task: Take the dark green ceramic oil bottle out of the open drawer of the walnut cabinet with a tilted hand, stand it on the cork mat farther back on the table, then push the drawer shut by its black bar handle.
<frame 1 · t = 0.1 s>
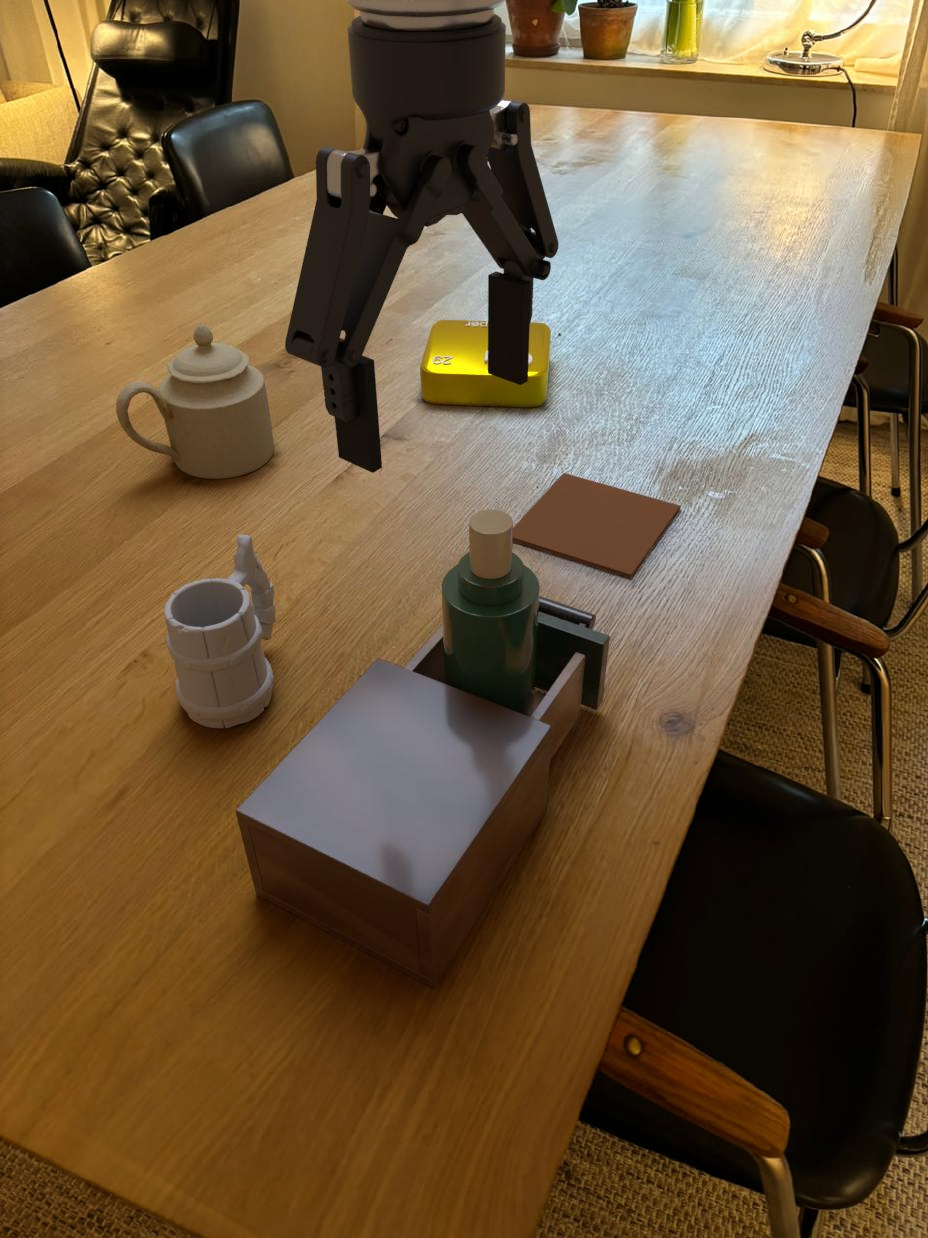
hand: (438, 417, 60), 27 cm above the table, tool pointing down, fingers open, 13 cm apart
element tile: (487, 379, 123), on the table
oil bottle: (489, 720, 75), point 2 cm above the table, touching drawer
cork mat: (594, 524, 98), on the table
mug: (241, 682, 82), on the table
sugar bowl: (214, 463, 108), on the table
drawer: (502, 683, 75), point 4 cm above the table, slide at 10.0 cm, touching oil bottle
cabinet: (406, 851, 69), on the table
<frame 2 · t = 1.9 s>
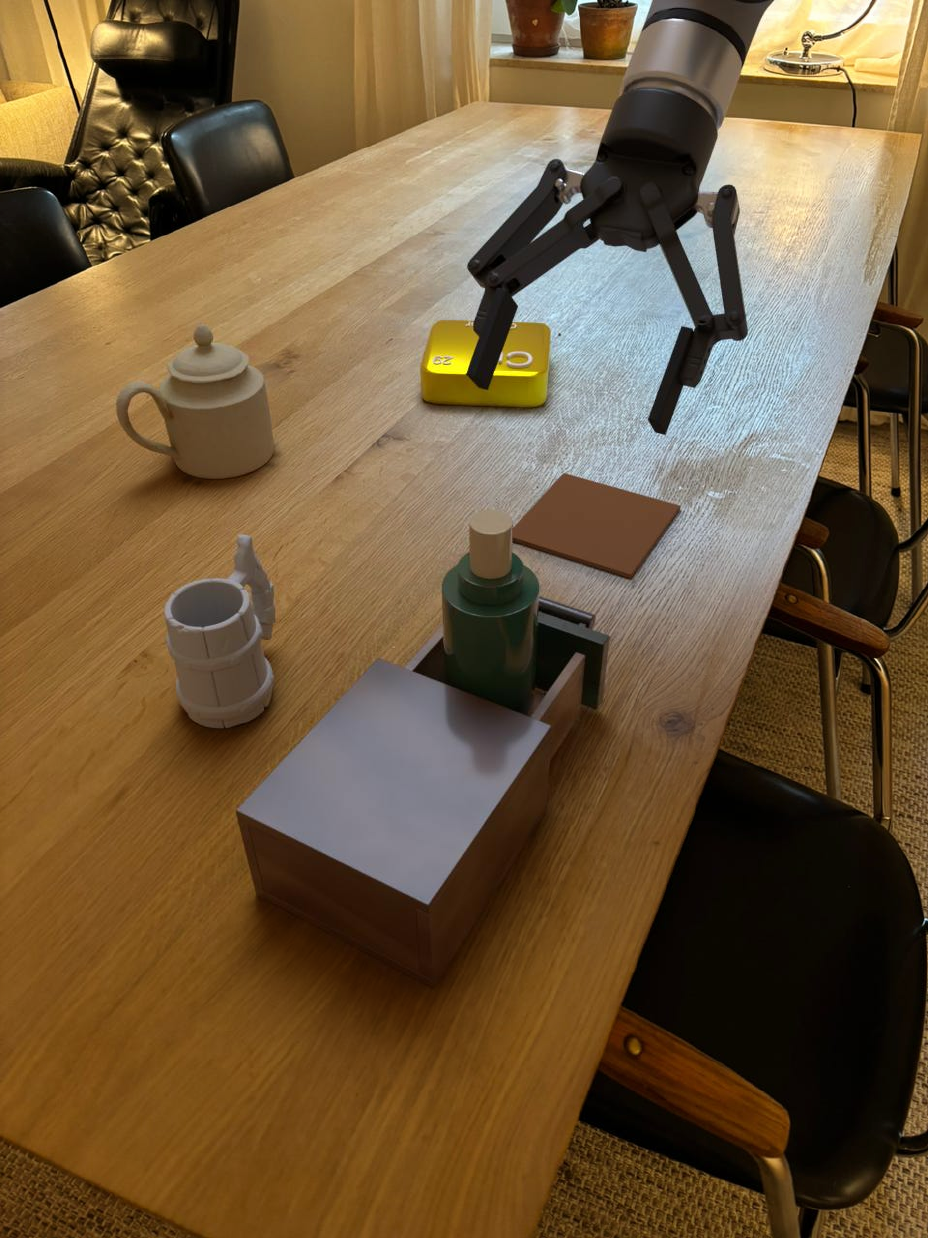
hand: (563, 404, 68), 24 cm above the table, tool tilted 45°, fingers open, 13 cm apart
nothing on the table moved.
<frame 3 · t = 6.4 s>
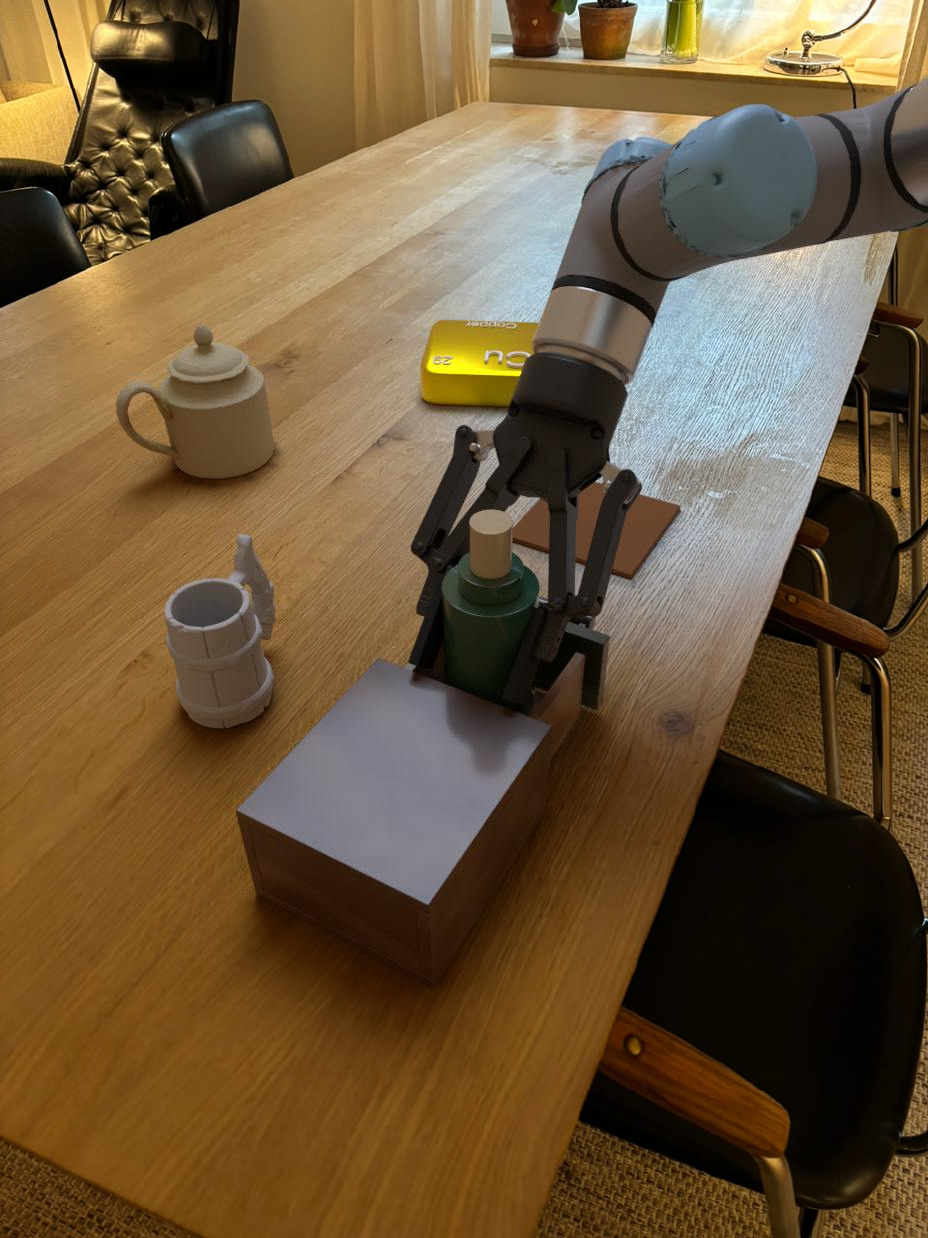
hand: (465, 683, 68), 9 cm above the table, tool tilted 45°, fingers closed on oil bottle, 7 cm apart
oil bottle: (489, 720, 75), point 2 cm above the table, touching drawer, gripper
everything else where it was.
when the fingers open (7 cm above the table, at t = 17.4 s): oil bottle stays where it is, resting on cork mat.
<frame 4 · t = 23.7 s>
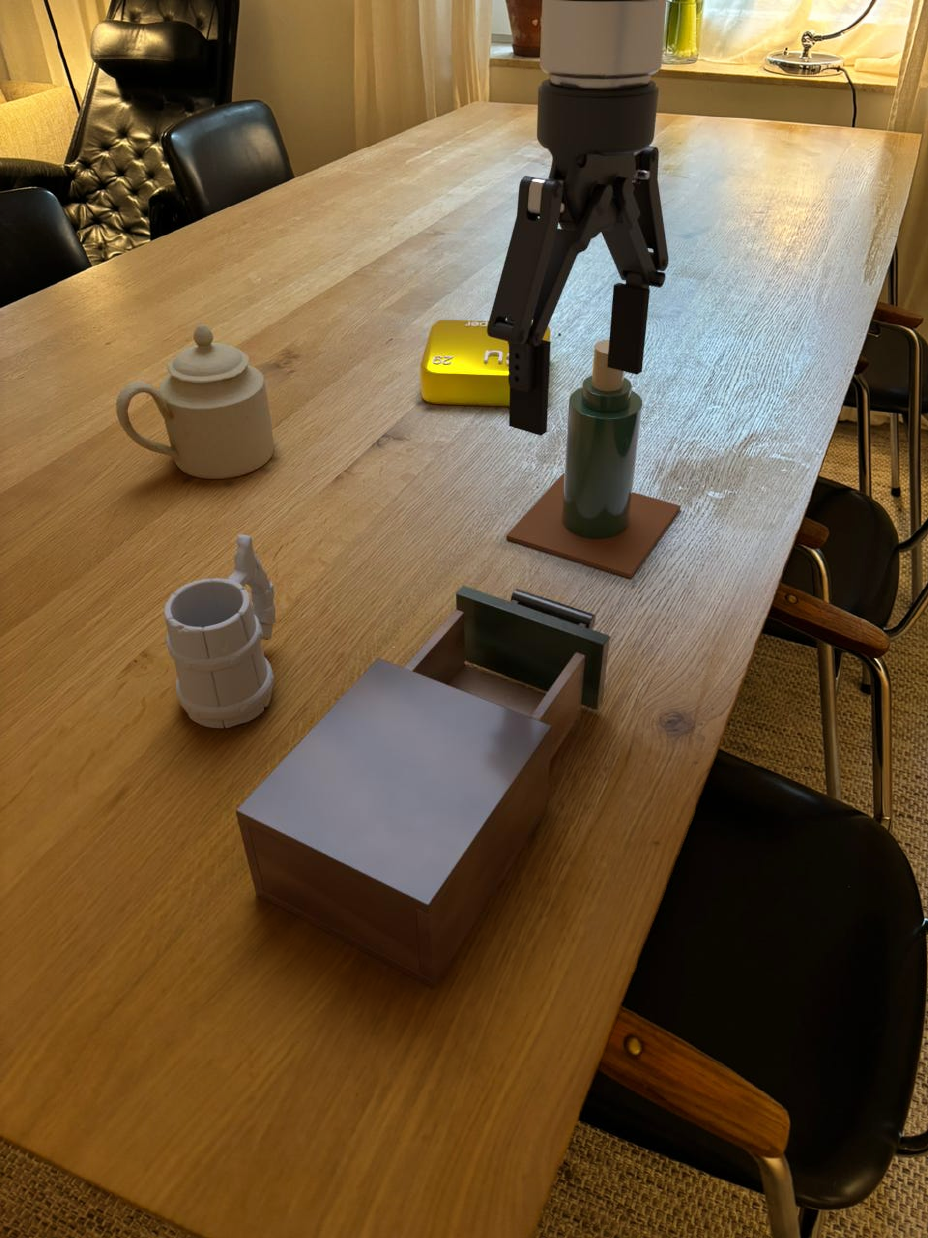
hand: (578, 398, 74), 21 cm above the table, tool pointing down, fingers open, 13 cm apart
oil bottle: (595, 519, 98), resting on cork mat
drawer: (502, 683, 75), point 4 cm above the table, slide at 10.0 cm
everything else where it was.
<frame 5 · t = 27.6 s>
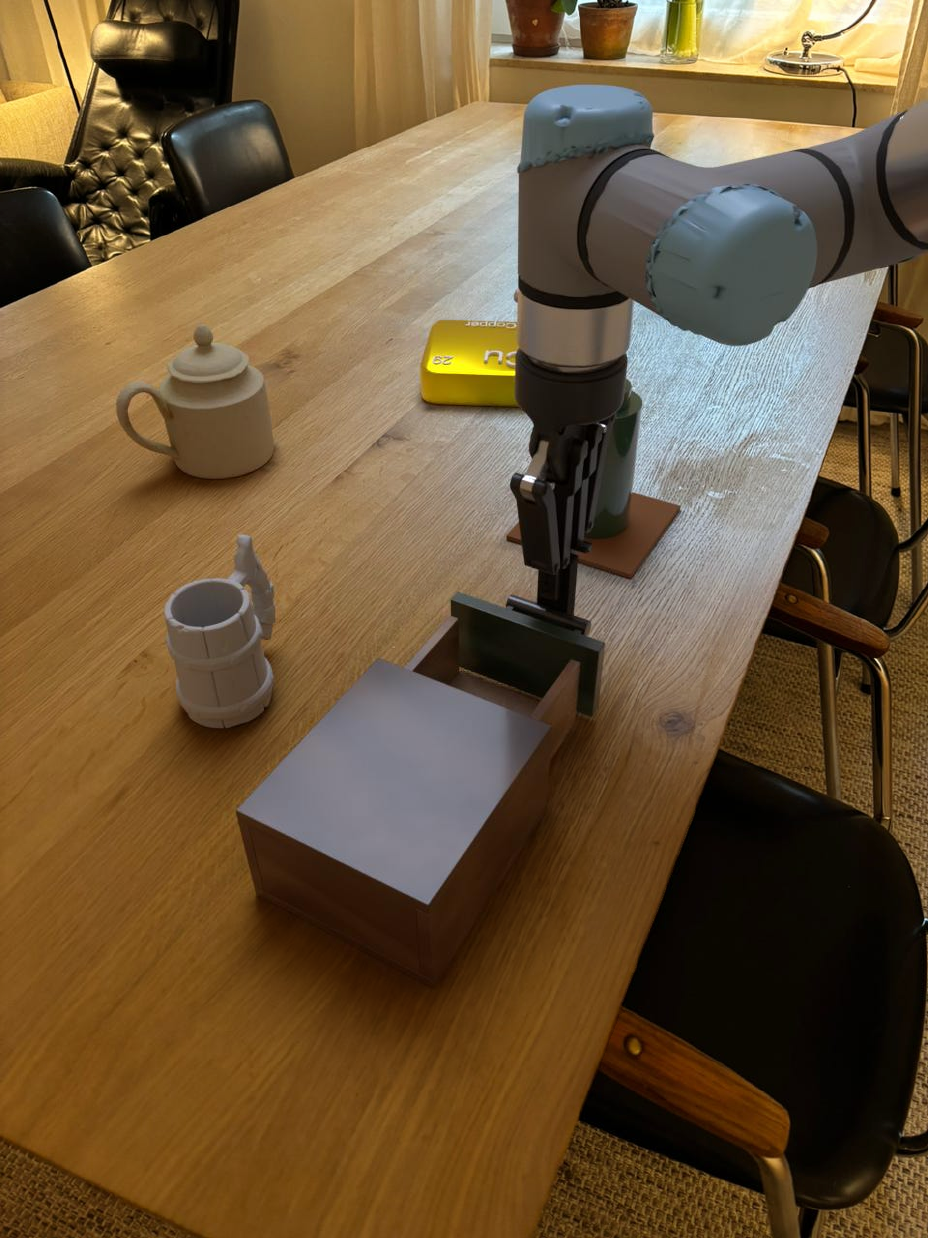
hand: (554, 618, 81), 4 cm above the table, tool pointing down, fingers closed
drawer: (496, 690, 74), point 4 cm above the table, slide at 9.1 cm, touching gripper
everything else where it was.
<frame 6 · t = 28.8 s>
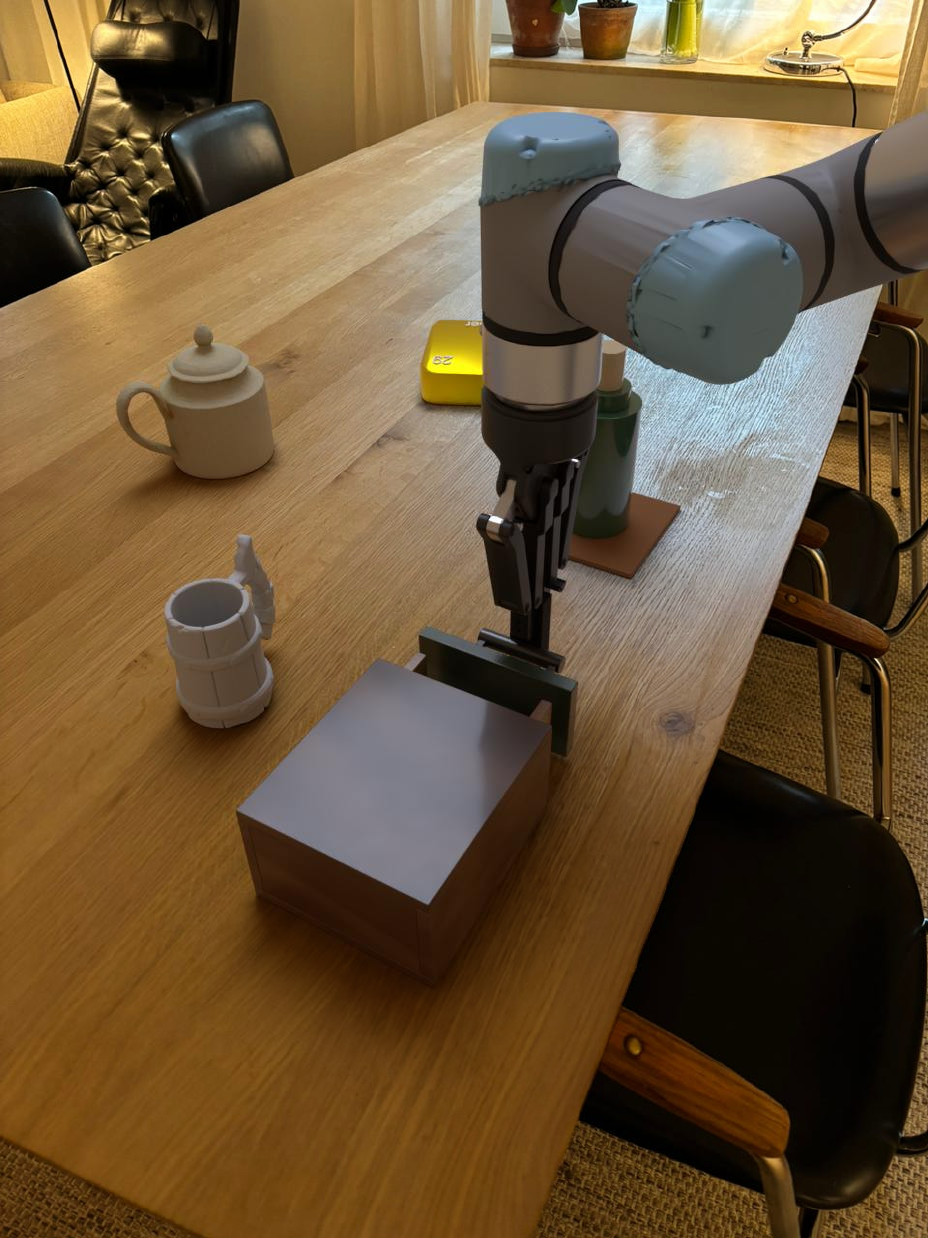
hand: (528, 657, 78), 3 cm above the table, tool pointing down, fingers closed
drawer: (465, 730, 71), point 4 cm above the table, slide at 4.4 cm, touching gripper
everything else where it was.
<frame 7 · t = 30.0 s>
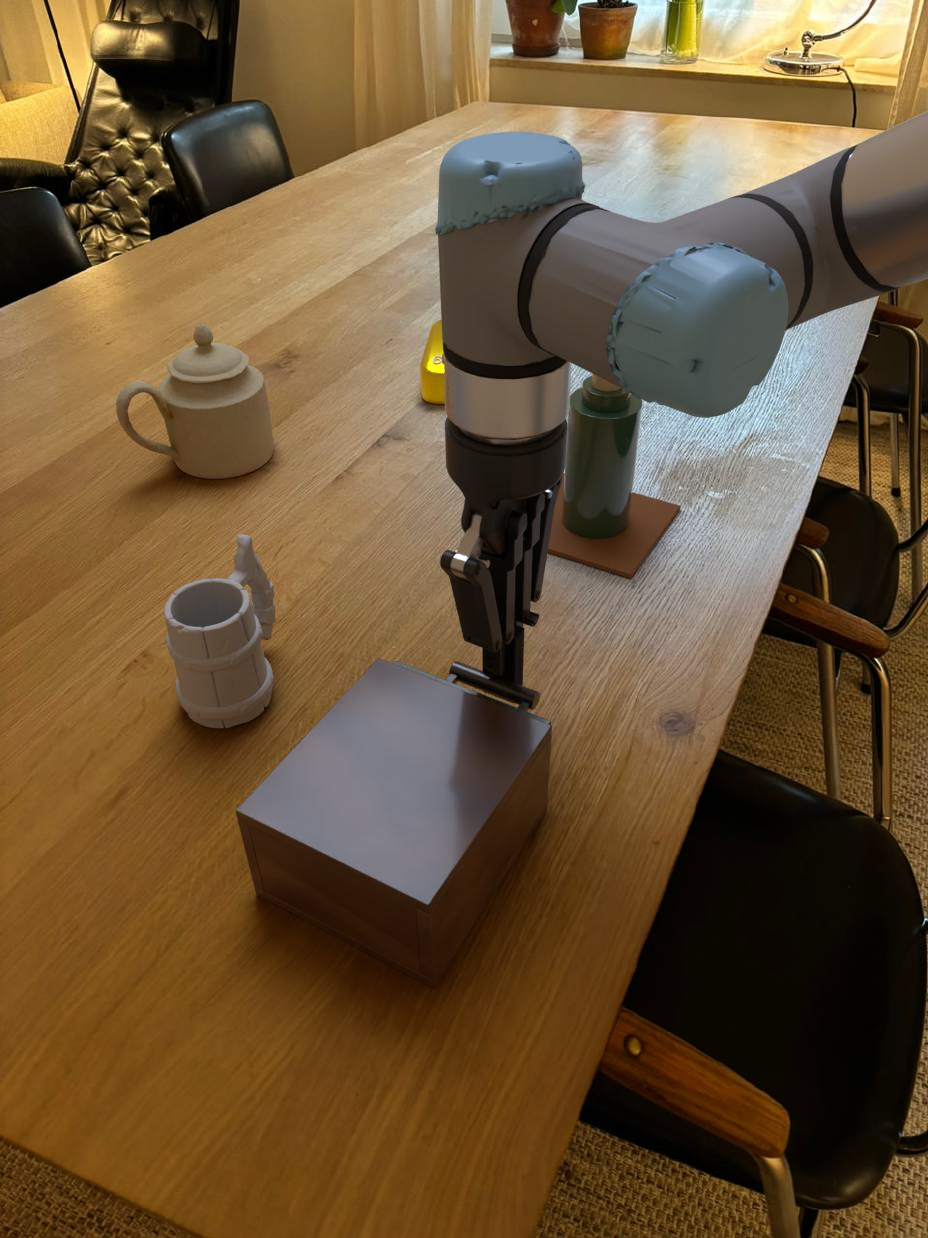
hand: (502, 691, 76), 3 cm above the table, tool pointing down, fingers closed
drawer: (433, 771, 68), point 4 cm above the table, slide at 0.0 cm, touching cabinet, gripper
everything else where it was.
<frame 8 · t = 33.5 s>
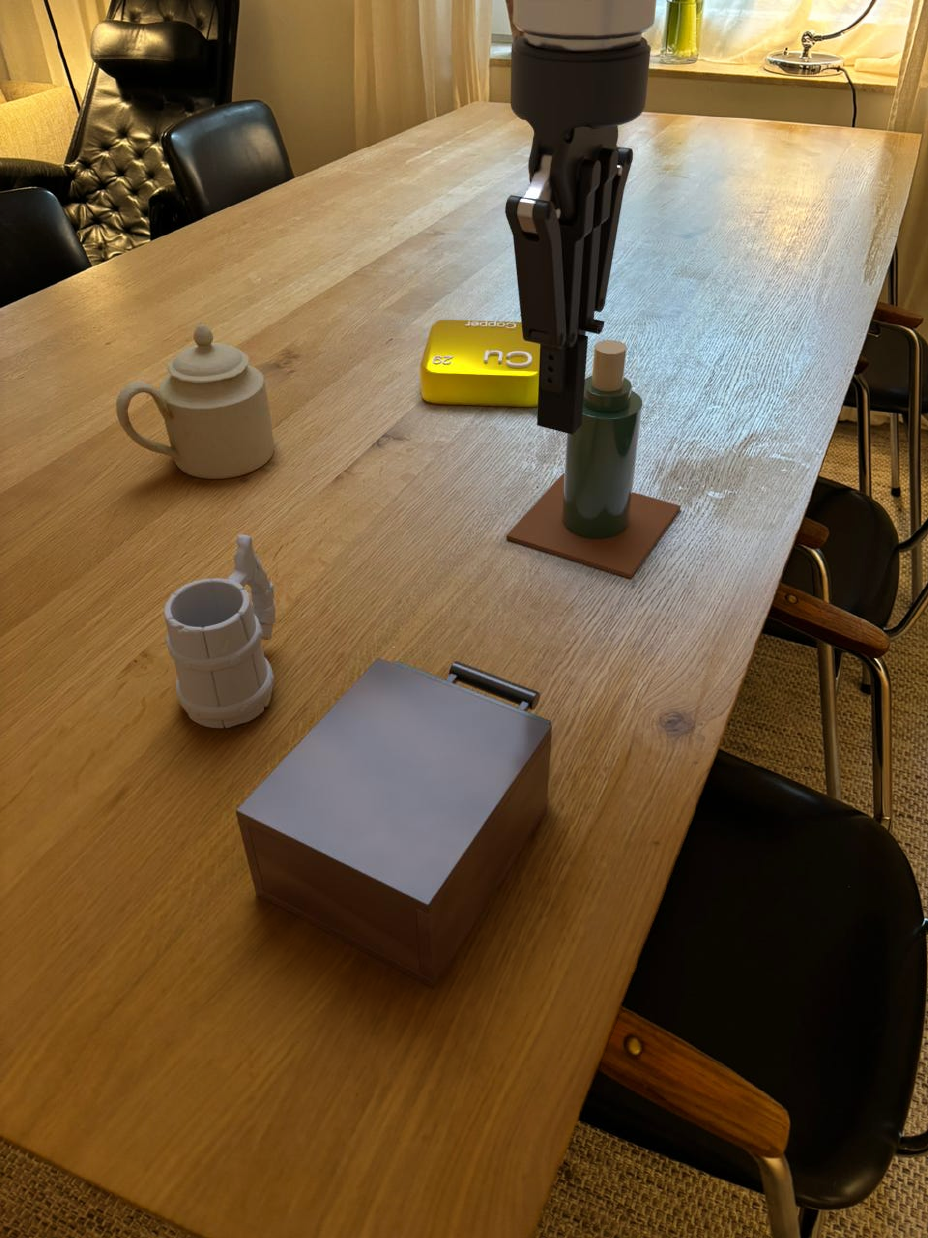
hand: (559, 424, 68), 22 cm above the table, tool pointing down, fingers closed
drawer: (433, 771, 68), point 4 cm above the table, slide at 0.0 cm, touching cabinet
everything else where it was.
at the end: oil bottle inside the target area on the cork mat (0.1 cm from its centre), point 0.5 cm above the cork mat's base; oil bottle tilted 0°; drawer slide at 0.0 cm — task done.
